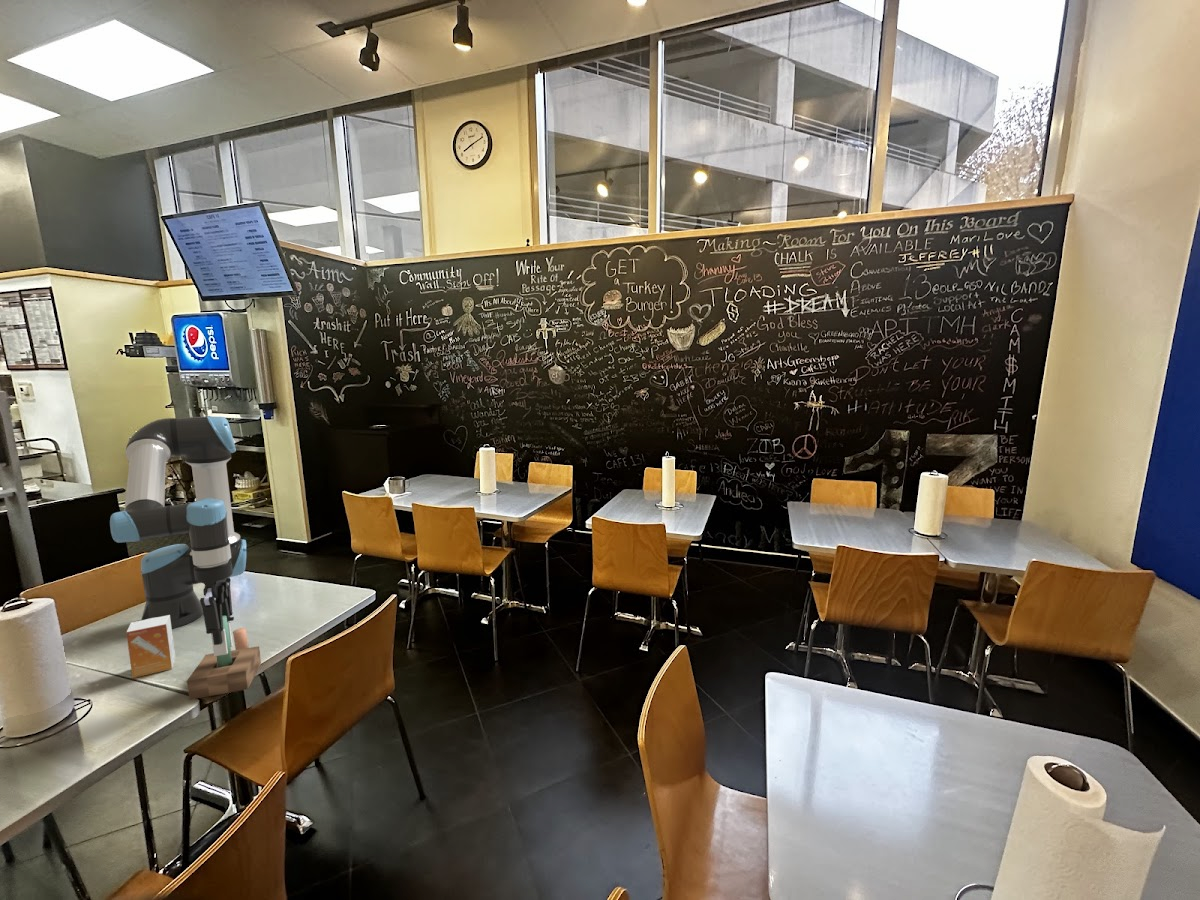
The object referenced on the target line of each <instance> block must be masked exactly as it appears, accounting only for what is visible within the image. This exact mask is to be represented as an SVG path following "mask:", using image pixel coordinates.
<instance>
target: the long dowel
mask: <svg viewBox="0 0 1200 900" xmlns="http://www.w3.org/2000/svg"><path fill="white" fill-rule="evenodd" d="M222 618H223V629H225V632H226V641H227V649H228V653H227V654H225V655H219V656H217V664H218V667H224V666H230V665H232V656H231V651H232V649H231V648H232V647H230V639H229V631H228V623H227V616H222Z"/></svg>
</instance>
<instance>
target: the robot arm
mask: <svg viewBox="0 0 1200 900" xmlns="http://www.w3.org/2000/svg"><path fill="white" fill-rule="evenodd" d="M236 451H237V449H236V445H235V441H234V436H233V433H232V429H231V426H230V423H229V421H228V418H225V417H224V416H210V415H207V416H191V417H190V416H189V417H177V418H176V417H173V418H172V417H169V418H168V417H167V418H161V419H156V420H153V421H151V422H149V423H147V424H145V425H144V426H142V427H141V428H139V429H138V430H137V431H136V432H135V433H133V435H131V437H130V438H129V440H128V442H127V444H126V447H125V457H126V459H127V461H129V463H128V464H129V465H128V472H127V473H128V474H127V481H126V482H127V484H126V492H125V501H124V509H123V510H121V511H117V512H114V513H112V514H111V515H110V520H109V527H110V534H111V537H112V539H113V541H114V542H116V543H118V544H119V543H130V542H131V543H132V542H140V541H147V540H152V539H159V538H165V537H171V536H178V535H179V536H180V535H186V534H189V540H190V547H189V545H188V544H186V543H177V544H172V545H167V546H163V547H160V548H158V549H154V550H152V551H150V552H148V553H146V554H145V555H144V556H143V557H142V558H141V560H140V574H141V576H142V577H141V578H142V582H143V583H142V584H143V590H144V596H145V597H144V598H145V605H144V608H143V611H142V615H141V619H140V621H141V620H146V619H150V618H156V617H162V616H166V615H170V620H171V628H172V629H175V628H179V627H182V626H185V625H188V624H190V623H193V622H194V621H196V620H198V619H199V618H201V617H202V616H203V619H204V625H205V633H206V635H208V634H211V642H212V650H213V653H214V656H219V655H225V654H227V653H228V649H227V641H226V632H225V629H223V618H222V616H227V623H228V631H229V639H230V648H232V647H233V646H234V645H233V636H232V635H233V634H232V629H231V622H232V621H234V620H235V618H234V617H235V616H233V613H234V612H233V605H232V595H231V594H232V591H231V590H232V589H231V580H232V579H231V578H233V577H238V576H241V575H242V574H244V573H245V571H246V566H247V565H246V563H247V541H246V539H244V538H243V539H241V535H240V534H239V533H238V532H235V528H234V521H233V520H234V519H233V512H232V511H233V510H232V504H231V503H232V502H231V494H230V486H229V477H228V468H227V463H228V462H229V461H230V460H231V459H232V454H233V453H235V452H236ZM174 457H184V463H186V464H188V465H189V466H191V469H192V477H193V484H194V492H195V493H194V494H195V500H196V501H193V502H190V503H183V504H176V505H166V506H165V501H166V499H165V498H166V470H167V469H166V467H167V465H166V463H167V462H168V461H169V459H170V458H174ZM197 584H203V585H204V588H203V590H202V591H203V596H204V597H200V598H198V596H197V593H195V591H194V585H197Z"/></svg>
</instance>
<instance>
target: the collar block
mask: <svg viewBox="0 0 1200 900" xmlns="http://www.w3.org/2000/svg"><path fill="white" fill-rule="evenodd" d="M231 656H232V665H230V666H224V667H218V664H217V656H214V652H213V653H208V654H205V655H204V656H203V658H202V659H201V661H200V662H199V663H198V665H197V666H196V667H195V669H194V670H193V671H192V673H191V675H190V676H189V677H188V678H187V680H186V685H187V691H188V693H187V694H188V699H189V700H194V699H201V698H205V697H212V696H216V695H222V694H228V693H234V692H239V691H244V690H248V689H249V688H250V687H251V686H250V685H251V683H252V682H253V680H254V677H255V675H256V673H257V672H258V670H259V668H260V667H261V664H262V662H261V652H260V646H253V647H249V648H245V649H239V650H235V649H234V650H232V649H231Z"/></svg>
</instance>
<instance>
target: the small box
mask: <svg viewBox="0 0 1200 900" xmlns="http://www.w3.org/2000/svg"><path fill="white" fill-rule="evenodd" d="M172 629H173V628H171V620H170V615H166V616H162V617H156V618H150V619H146V620H141V619H140V620H137V621H131V622H130V624H129V626H128V628H127V630H126V632H125V633H126V641H127V648H128V656H129V662H130V664H129V665H130V670H131V677H132V679H136V678H139V677H143V676H146V675H147V676H148V675H152V674H155V673H160V672H164V671H169V670H173V667H174V665H175V660H176V651H175V643H174V637H173V630H172Z"/></svg>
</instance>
